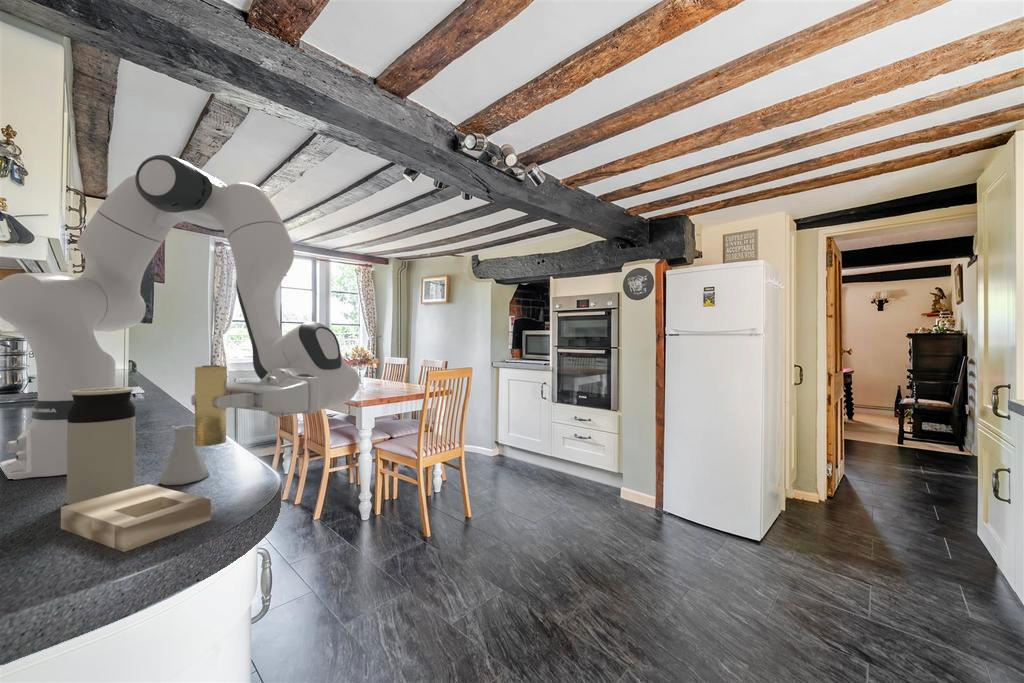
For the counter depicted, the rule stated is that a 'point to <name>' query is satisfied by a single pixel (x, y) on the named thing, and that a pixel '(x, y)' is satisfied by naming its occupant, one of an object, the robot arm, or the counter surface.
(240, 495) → the counter surface
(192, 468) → the flask
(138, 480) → the counter surface
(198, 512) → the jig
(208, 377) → the gold metal post
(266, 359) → the robot arm
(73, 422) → the travel mug
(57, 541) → the counter surface
